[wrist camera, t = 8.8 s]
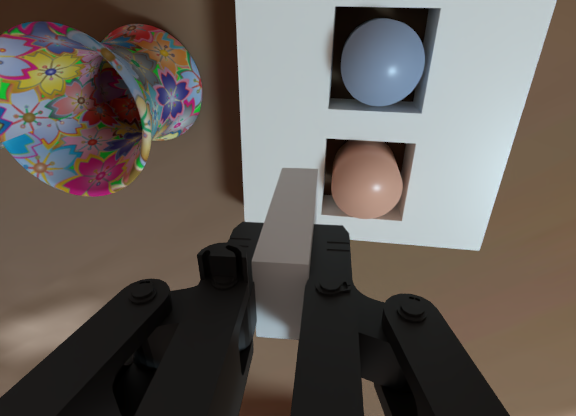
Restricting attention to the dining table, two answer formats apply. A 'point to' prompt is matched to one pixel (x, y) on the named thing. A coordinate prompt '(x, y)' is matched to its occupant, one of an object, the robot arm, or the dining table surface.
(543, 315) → the dining table surface
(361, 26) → the slate button
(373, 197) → the terracotta button
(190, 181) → the dining table surface
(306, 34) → the panel
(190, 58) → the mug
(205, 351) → the robot arm
